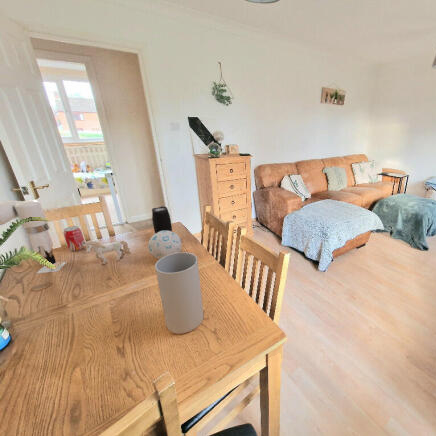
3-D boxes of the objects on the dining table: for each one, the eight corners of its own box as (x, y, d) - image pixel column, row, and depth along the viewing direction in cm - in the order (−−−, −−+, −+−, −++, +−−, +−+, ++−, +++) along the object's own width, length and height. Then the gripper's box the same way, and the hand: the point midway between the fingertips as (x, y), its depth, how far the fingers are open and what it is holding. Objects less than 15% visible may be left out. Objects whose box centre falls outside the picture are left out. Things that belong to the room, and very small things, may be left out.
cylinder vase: (177, 307, 93) (168, 251, 83) (209, 309, 92) (203, 253, 83) (159, 333, 81) (146, 271, 72) (195, 336, 81) (186, 275, 71)
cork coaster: (28, 288, 98) (28, 287, 98) (47, 280, 103) (47, 279, 103) (35, 292, 96) (34, 292, 95) (54, 284, 101) (53, 284, 100)
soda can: (69, 247, 128) (62, 227, 124) (86, 244, 132) (80, 224, 128) (68, 253, 123) (61, 232, 119) (86, 249, 127) (79, 229, 123)
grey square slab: (35, 273, 107) (34, 269, 106) (46, 263, 114) (45, 260, 113) (57, 271, 109) (56, 267, 108) (67, 261, 116) (66, 258, 115)
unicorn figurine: (81, 267, 112) (72, 242, 107) (127, 252, 127) (122, 229, 122) (86, 273, 109) (77, 248, 103) (133, 257, 123) (127, 233, 118)
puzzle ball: (189, 256, 126) (185, 231, 121) (161, 269, 114) (156, 241, 109) (172, 247, 134) (168, 223, 128) (144, 258, 122) (139, 232, 116)
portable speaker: (172, 241, 140) (167, 210, 133) (154, 243, 137) (148, 211, 130) (174, 235, 148) (169, 205, 140) (157, 236, 145) (151, 206, 137)
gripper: (29, 224, 108) (43, 258, 115) (20, 236, 97) (36, 274, 104) (51, 220, 113) (64, 254, 120) (45, 232, 101) (59, 268, 108)
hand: (51, 263), depth 112 cm, fingers closed
